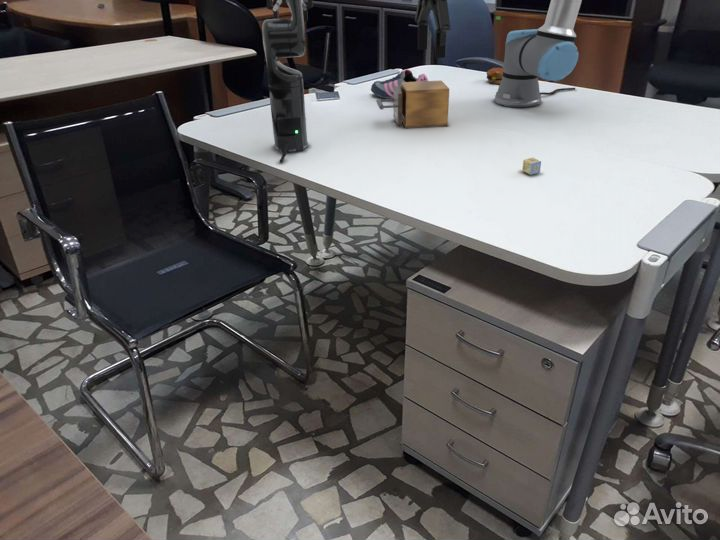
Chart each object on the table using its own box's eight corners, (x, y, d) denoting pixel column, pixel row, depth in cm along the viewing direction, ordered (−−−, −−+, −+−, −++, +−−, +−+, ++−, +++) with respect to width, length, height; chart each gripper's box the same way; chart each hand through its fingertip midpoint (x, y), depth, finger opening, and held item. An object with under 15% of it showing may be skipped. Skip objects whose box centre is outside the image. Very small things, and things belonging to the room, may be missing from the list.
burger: (509, 78, 224) (510, 66, 222) (513, 84, 216) (515, 71, 214) (483, 78, 224) (484, 66, 222) (487, 84, 216) (488, 72, 214)
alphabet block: (529, 175, 138) (531, 163, 136) (521, 170, 140) (523, 159, 139) (540, 173, 139) (541, 161, 137) (531, 168, 141) (533, 157, 140)
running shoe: (382, 90, 212) (382, 60, 206) (438, 103, 195) (439, 70, 190) (365, 95, 206) (364, 64, 201) (420, 108, 190) (421, 75, 184)
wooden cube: (405, 128, 173) (406, 90, 167) (400, 118, 182) (400, 82, 176) (447, 125, 174) (449, 88, 168) (439, 116, 183) (441, 80, 177)
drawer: (379, 125, 172) (379, 94, 167) (376, 117, 180) (375, 87, 175) (435, 123, 173) (437, 91, 169) (429, 114, 181) (430, 84, 177)
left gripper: (261, -33, 170) (267, 25, 178) (308, -34, 169) (312, 24, 177) (265, -34, 176) (271, 22, 184) (311, -36, 176) (314, 21, 184)
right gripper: (404, -33, 160) (403, 47, 171) (438, -28, 139) (434, 62, 150) (429, -35, 161) (427, 45, 172) (466, -30, 141) (461, 60, 152)
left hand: (291, 23), depth 181 cm, fingers open, 8 cm apart
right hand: (430, 53), depth 161 cm, fingers open, 13 cm apart
